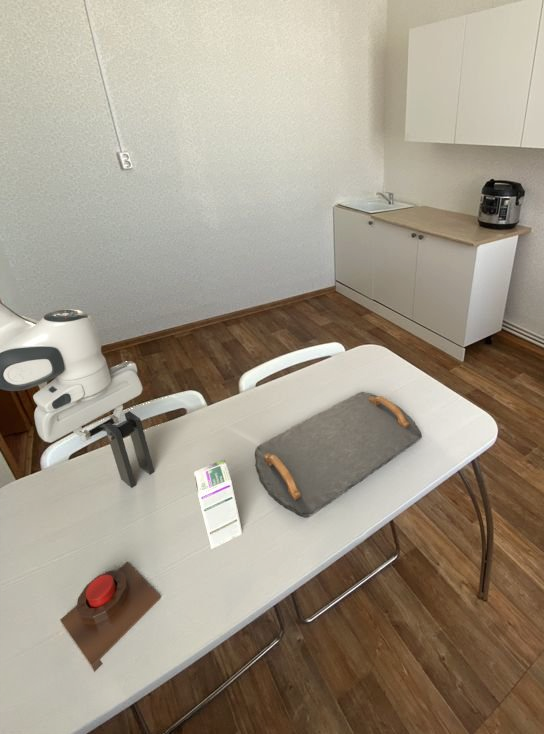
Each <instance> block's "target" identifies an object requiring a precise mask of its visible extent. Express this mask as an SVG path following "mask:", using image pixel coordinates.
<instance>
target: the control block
mask: <svg viewBox="0 0 544 734" xmlns="http://www.w3.org/2000/svg"><path fill="white" fill-rule="evenodd" d="M103 575H110V576H112V577H113V580H114V583H115V585H116V590H115V593H114V595H113V596H112V597H111V599H110V600H109V601H108V602H106V603H105V604H104V605H102V606H99V607H92V606H90V605H89V602H88V600H87V597H86V591H87V589H88V587H89V585H90V584H91V583H92V582H93V581H94V580H95V579H97V578H98V577H100V576H103ZM160 600H161V596H160V595H159V593H157V592H156V590H155V589H153V588H152V586H151V585H150V584H149V583H148V582H147V581H146V579H144V578H143V577H142V576H141V574H139V573H138V572H137V571H136V570H135V568H134V567H133V566H132V565H131V564H130V563H129V562H128V561H126V562H125V563H124V564H123V565H122V566H120V567H119V568H118V569H117V570H108V571H106V572H103V573H101V574H98V575H97V576H96V577H95V578H93V579H92V580H91V581H89V583H88V584H86V585H85V587H84V588H83V590H82V591H81V593H80V594H79V596H78V598H77V602H76V605H75V606H74V607H73V608H72V609H71V610H69V611H68V612H67V613H66V614H65V615H63V617H61V618H60V619H59V621H60V623H61V626H62V627H63V629H64V630H65V631H66V633H67V635H68V637H70V639H71V641H72V643H74V645H75V646H76V648H77V649H78V651H79V652H80V654H81V655H82V657H83V658H84V659H85V661H86V663H88V665H89V667H90V668H91V669H92V671H93V672H94V673H95V672H96V671H97V670H98V669H99V668H101V666H103V661H102V660H101V659H103V657H105V655H107V654H108V653H109V651H111V649H112V648H113V647H114V646H116V644H117V643H118V642H119V641H120V640H121V639H122V638H123V637H125V635H126V634H127V633H128V632H129V631H130V630H131V629H133V627H134V626H136V624H137V623H138V622H139V621H140V620H141V619H142V618H143V617H144V616H145V615H146V614H147V613H148V611H150V610H151V609H152V608H153V607H154V606H155V605H156V604H157V603H158V602H159V601H160Z"/></svg>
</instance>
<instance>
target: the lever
mask: <svg viewBox="0 0 544 734" xmlns="http://www.w3.org/2000/svg"><path fill="white" fill-rule="evenodd" d="M109 422H110V423H111V424H112V425H114V421H113V420H112V419H110V418H109V419H107V420H105V421H104V422H101V423H100V424H97V426H95V427H93V428H91V429H89V430H88V431H89V432H90V434H91V435H90V436H91V438H92V437H93V436H95V435H97V434H99V433H100V432H106V429H105V426H104V425H105V424H107V423H109ZM114 426H115V427H116V428H118V429H119V430H120V431H121V434H122V438H125V437H127V436H130V433H132V432H134V431H135V430H134V428H133V426H132V424H131V422H130V421H126V420H123V421H120V422H119V423H117V424H115V425H114Z"/></svg>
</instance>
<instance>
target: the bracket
mask: <svg viewBox="0 0 544 734" xmlns="http://www.w3.org/2000/svg"><path fill="white" fill-rule="evenodd" d="M124 417H125V421H130V422H131V424H132V426H133V428H134V430H135V431H134V432H132V433H130V434H129V436H130V438H131V442H132V445H133V449H134V452H135V456H136V460H137V463H138V466H139V467H140V469H142V470H143V471H144V472H146V473H147V474H148V475H149V476H151V475H153V474H154V473H155V469H154V465H153V460H152V457H151V454H150V453H151V452H150V450H149V446H148V442H147V439H146V435H145V431H144V428H143V427H144V426H143V424H142V420H141V417H139V416H137V415H136V414H134V413H133V412H131V411H130V410H128V411H126V412H125V413H124ZM104 426H105V429H106V431H105V432H106V435H107V439H108V442H109V445H110V448H111V452H112V454H113V459H114V461H115V464H116V468H117V471H118V474H119V477H120V480H121V481H122V482H124V484H126V485H127V486H128V487H129V488H131V489H133V488H135V486H137V482H136V479H135V476H134V472H133V469H132V466H131V462H130V459H129V456H128V452H127V448H126V445H125V441H124V437H122V434H121V431H120V430H119V429H118V428H116V427H115V426H114V424H113V425H112V424H111V423H110V422H109V423H107V424H105V425H104Z"/></svg>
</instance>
